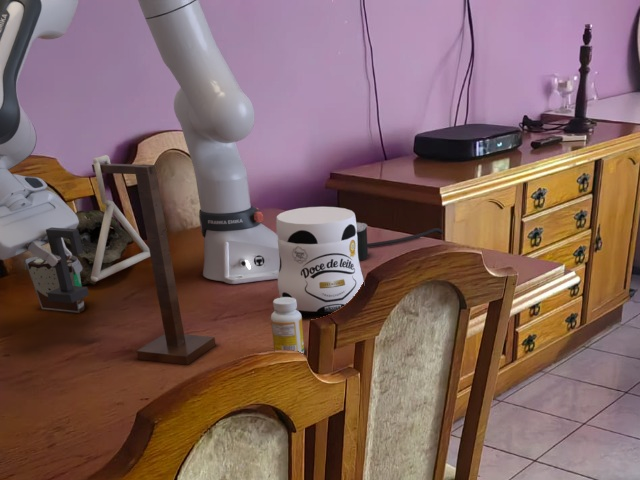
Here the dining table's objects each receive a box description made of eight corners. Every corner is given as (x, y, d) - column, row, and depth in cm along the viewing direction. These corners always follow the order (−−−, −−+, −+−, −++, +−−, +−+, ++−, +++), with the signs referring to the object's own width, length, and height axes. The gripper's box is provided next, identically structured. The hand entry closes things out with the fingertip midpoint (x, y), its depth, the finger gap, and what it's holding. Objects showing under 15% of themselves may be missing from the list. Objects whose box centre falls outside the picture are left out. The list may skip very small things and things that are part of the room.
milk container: (332, 326, 161) (325, 229, 151) (262, 312, 169) (251, 219, 159) (381, 301, 173) (378, 210, 163) (314, 290, 181) (307, 202, 171)
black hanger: (49, 301, 151) (30, 231, 145) (66, 292, 155) (49, 224, 149) (82, 304, 149) (66, 233, 143) (99, 296, 153) (84, 226, 147)
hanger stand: (104, 364, 147) (58, 165, 129) (158, 332, 161) (123, 147, 143) (176, 372, 143) (139, 168, 125) (225, 338, 157) (198, 150, 139)
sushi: (364, 262, 199) (362, 227, 195) (330, 261, 200) (328, 226, 196) (371, 253, 206) (370, 219, 201) (338, 252, 207) (336, 218, 202)
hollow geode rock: (122, 277, 209) (73, 231, 205) (151, 240, 204) (101, 193, 199) (70, 309, 186) (13, 258, 181) (101, 268, 180) (43, 215, 176)
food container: (103, 304, 176) (93, 255, 170) (85, 313, 171) (73, 263, 166) (55, 299, 179) (43, 251, 174) (35, 308, 175) (22, 259, 169)
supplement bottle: (289, 361, 146) (283, 307, 141) (268, 354, 149) (262, 301, 144) (311, 352, 150) (306, 299, 144) (290, 346, 153) (285, 293, 147)
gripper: (-35, 199, 136) (30, 264, 139) (47, 176, 152) (104, 235, 155) (-48, 227, 140) (16, 289, 142) (33, 201, 156) (90, 258, 159)
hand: (63, 261), depth 149 cm, fingers closed on black hanger
